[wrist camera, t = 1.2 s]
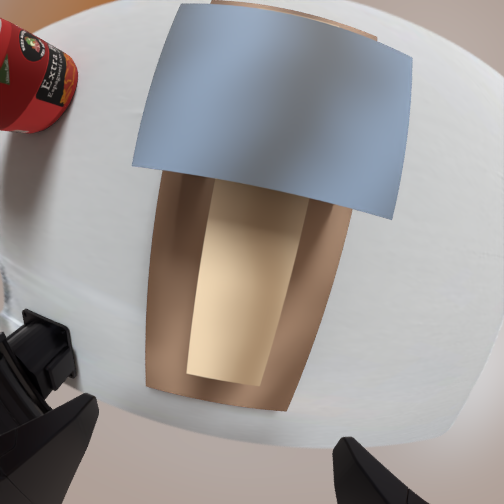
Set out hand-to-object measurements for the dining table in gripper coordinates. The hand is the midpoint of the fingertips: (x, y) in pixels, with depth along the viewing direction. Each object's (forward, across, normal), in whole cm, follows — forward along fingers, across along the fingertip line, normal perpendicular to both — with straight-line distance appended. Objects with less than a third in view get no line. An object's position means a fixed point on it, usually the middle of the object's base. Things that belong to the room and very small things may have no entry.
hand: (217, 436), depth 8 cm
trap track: (+12, 0, -6) cm, 14 cm away
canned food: (+13, +20, -14) cm, 27 cm away
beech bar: (+10, 0, -8) cm, 13 cm away
